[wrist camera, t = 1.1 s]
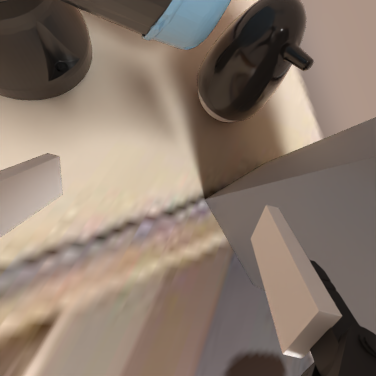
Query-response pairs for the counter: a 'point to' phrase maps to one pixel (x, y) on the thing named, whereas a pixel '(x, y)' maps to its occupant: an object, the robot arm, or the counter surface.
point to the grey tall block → (315, 212)
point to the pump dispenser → (252, 59)
